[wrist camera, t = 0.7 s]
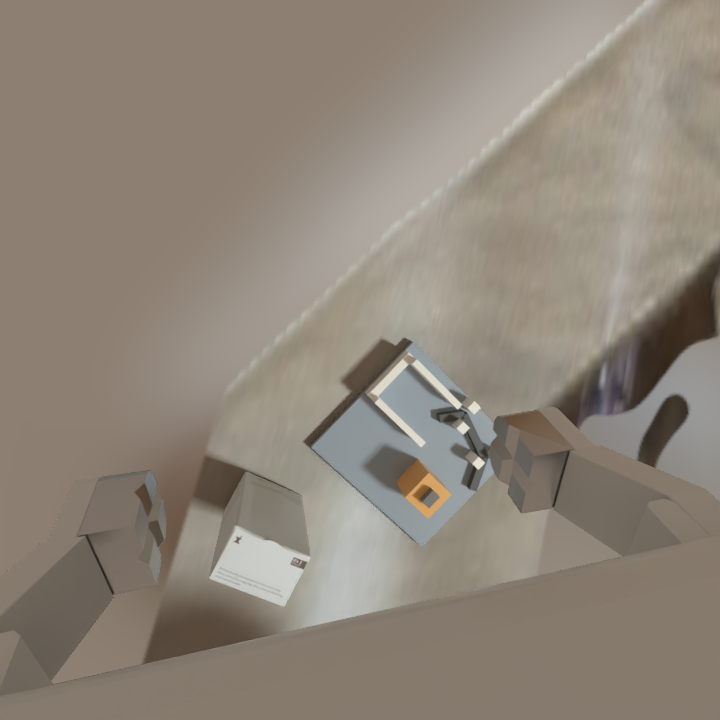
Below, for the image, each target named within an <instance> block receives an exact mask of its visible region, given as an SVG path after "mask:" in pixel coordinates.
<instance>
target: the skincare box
mask: <svg viewBox="0 0 720 720" xmlns="http://www.w3.org/2000/svg"><path fill="white" fill-rule="evenodd" d="M310 558H311V555H310V548H309V542H308V535H307V527H306V520H305V513H304V506H303V499H302V496H301V495H299V494H297V493H295V492H292V491H290V490H288V489H286V488H284V487H281V486H279V485H277V484H275V483H272V482H270V481H268V480H266V479H263V478H261V477H258V476H255V475H253V474H251V473H249V472H247V471H246V472H245V473H244V475H243V476H242V478H241V480H240V482H239V484H238V486H237V488H236V489H235V491H234V493H233V495H232V497H231V499H230V501H229V503H228V504H227V506H226V508H225V510H224V514H223V518H222V522H221V527H220V531H219V536H218V540H217V544H216V548H215V553H214V557H213V562H212V566H211V571H210V576H209V579H211V580H214V581H216V582H219V583H222V584H224V585H227V586H230V587H232V588H235V589H238V590H240V591H243V592H245V593H248V594H251V595H253V596H256V597H259V598H261V599H264V600H267V601H269V602H272V603H275V604H277V605H280V606H283V607H284V606H285V604H286V602H287V601H288V599H289V597H290V595H291V593H292V591H293V589H294V587H295V585H296V583H297V581H298V580H299V578H300V576H301V574H302V572H303V571H304V569H305V567H306V565H307V563H308V562H309V560H310Z"/></svg>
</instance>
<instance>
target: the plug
mask: <svg viewBox="0 0 720 720" xmlns="http://www.w3.org/2000/svg"><path fill="white" fill-rule="evenodd" d="M396 482H397V484H398V486H399V488H400V490H401V491H402V493H403V495H404V497H405V498H406V499H407V500H408V501H409V502H410V503H411V504H412V505H414V506H415V507H416V508H417V509H418V510H419V511H420V512H421V513H422V514H423V515H425V516H426V517H427V518H428V519H429V518H430V517H431V516H432V515H433V514H434V512H435V511H436V510H437V509H438V508H439V507H440V506H441V505H442V504H443V503H444V502H445V501H446V500H447V499H448V498H449V497H450V496H451V495H452V494H451V493H450V492H449V490H448V489H447V488H446V487H445V485H444V484H443V483H442V482H441V480H440V479H439V478H438V477H437V476H436V475H435V474H434V473H433V472H432V471H430V470H429V469H428V468H427V467H426V466H425V465H424V464H423V463H422V462H421V461H420V460H419V459H417V460H416V461H415V462H414V463H413V464H412V465H411V466H410V467H409V468H408V469H407V470H406V471H405V472H404V473H403V474H402V475H401V476H400V477H399V478H398V479H397V480H396Z"/></svg>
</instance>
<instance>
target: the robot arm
mask: <svg viewBox="0 0 720 720" xmlns="http://www.w3.org/2000/svg"><path fill="white" fill-rule="evenodd" d="M493 430H494V432H495V433H496V435H497V436H496V438H495V439H494V440H493V441H492V442H491V443H490V452H489V455H490V462H491V466H492V468H493V471H494V473H495V474H496V476H497V478H498V479H499V480H500V481H502V482H504V483H506V484H507V485H509V488H508V494H509V496H510V497H511V499H512V500H513V502H514V503H515V505H516V506H517V508H518V509H519V511H520V512H521V514H522V513H528V512H534V511H540V510H546V509H551V508H554V510H555V511H556V512H558V513H559V514H561V515H562V516H564V517H565V518H567V519H568V520H570V521H571V522H573V523H574V524H576V525H577V526H578V527H580V528H581V529H583V530H584V531H586V532H587V533H589V534H590V535H592V536H594V537H595V538H596V539H598V540H599V541H601V542H602V543H604V544H605V545H607V546H608V547H610V548H611V549H613V550H614V551H616V552H617V553H619V554H620V555H622V557H618V558H614V559H609V560H605V561H601V562H596V563H591V564H587V565H583V566H579V567H574V568H569V569H565V570H560V571H556V572H551V573H547V574H542V575H538V576H533V577H529V578H525V579H520V580H516V581H511V582H507V583H502V584H498V585H493V586H489V587H484V588H480V589H476V590H471V591H467V592H462V593H458V594H453V595H449V596H444V597H440V598H436V599H431V600H427V601H422V602H418V603H413V604H409V605H404V606H400V607H396V608H391V609H387V610H382V611H378V612H373V613H369V614H364V615H360V616H356V617H351V618H347V619H342V620H338V621H333V622H329V623H324V624H320V625H316V626H311V627H307V628H302V629H298V630H293V631H289V632H284V633H280V634H275V635H271V636H266V637H262V638H257V639H253V640H249V641H244V642H240V643H235V644H231V645H226V646H222V647H217V648H213V649H208V650H204V651H199V652H195V653H191V654H186V655H182V656H177V657H173V658H168V659H164V660H159V661H155V662H151V663H146V664H142V665H138V666H133V667H129V668H124V669H120V670H116V671H111V672H106V673H102V674H97V675H93V676H88V677H84V678H80V679H75V680H71V681H67V682H62V683H57V684H52V682H51V680H52V679H53V677H54V676H55V675H56V673H57V672H58V671H59V669H60V668H61V667H62V665H63V664H64V663H65V662H66V660H67V659H68V658H69V656H70V655H71V654H72V652H73V651H74V649H75V648H76V647H77V645H78V644H79V643H80V642H81V640H82V639H83V638H84V636H85V635H86V634H87V632H88V631H89V630H90V628H91V627H92V626H93V624H94V623H95V622H96V620H97V619H98V618H99V616H100V615H101V614H102V612H103V611H104V610H105V608H106V607H107V606H108V604H109V603H110V602H111V601H112V599H113V598H114V597H113V595H116V594H121V593H125V592H130V591H134V590H139V589H143V588H147V587H152V586H156V585H157V581H158V575H159V570H160V564H161V555H160V552H159V549H158V547H159V546H160V545H161V544H162V542H163V541H164V540H165V533H166V513H165V507H164V503H163V500H162V498H161V497H160V496H158V495H156V494H155V491H156V487H157V482H156V479H155V476H154V474H153V472H152V471H150V470H148V471H142V472H133V473H127V474H119V475H111V476H104V477H101V478H92V479H84V480H77V481H76V482H75V483H74V484H73V485H72V486H71V487H70V490H69V492H68V495H67V497H66V499H65V502H64V504H63V506H62V509H61V511H60V513H59V516H58V518H57V520H56V523H55V525H54V527H53V530H52V532H51V534H50V537H49V539H48V541H47V542H46V543H41V544H38V545H37V546H36V547H35V548H34V549H32V550H31V551H30V552H29V553H28V554H27V555H26V556H25V557H23V558H22V559H21V560H20V561H18V562H17V563H16V564H15V565H14V566H12V567H11V568H10V569H9V570H8V571H7V572H5V573H4V574H3V575H2V576H1V577H0V720H720V502H719V501H718V500H717V499H716V498H715V497H714V496H713V495H712V494H710V493H709V492H708V491H707V490H706V489H704V488H701V487H699V486H696V485H694V484H692V483H689V482H687V481H684V480H682V479H680V478H677V477H675V476H673V475H670V474H668V473H665V472H663V471H661V470H658V469H656V468H653V467H651V466H649V465H646V464H644V463H641V462H639V461H637V460H634V459H632V458H629V457H627V456H624V455H622V454H620V453H617V452H615V451H613V450H610V449H608V448H605V447H603V446H594V445H593V444H592V443H591V442H590V441H589V440H588V439H587V438H586V437H585V436H584V435H583V434H582V433H581V432H580V431H579V430H578V429H577V428H576V427H575V426H574V425H573V424H572V423H571V422H570V421H569V420H568V419H567V418H566V417H565V416H564V415H563V414H562V413H561V412H560V411H559V410H558V409H557V408H554V407H548V408H543V409H537V410H534V411H527V412H521V413H515V414H509V415H503V416H497V418H496V419H495V421H494V426H493Z"/></svg>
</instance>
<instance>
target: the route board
mask: <svg viewBox="0 0 720 720" xmlns="http://www.w3.org/2000/svg"><path fill="white" fill-rule="evenodd" d="M480 408H481V407H480V406H479V405H478V404H477V403H476V402H475V401H473V400H472V399H470V398H468V397H467V396H466V395H465V394H464V393H463V392H462V391H461V390H460V389H459V388H458V387H457V386H456V385H455V384H454V383H453V382H452V381H451V380H450V379H449V378H448V377H447V376H446V375H445V374H444V372H443V371H442V370H441V369H440V368H439V367H438V366H437V365H436V364H435V363H434V362H433V361H432V360H431V359H430V358H429V357H428V356H427V355H426V354H425V353H424V352H423V351H422V350H421V349H420V348H419V347H418V346H417V345H416V344H415V343H414V342H412V341H411V342H410V343H409V344H408V345H407V346H406V347H405V348H404V349H403V350H402V351H401V352H400V354H399V355H398V356H397V357H396V358H395V359H394V360H393V361H392V362H391V363H390V364H389V365H388V366H387V367H386V368H385V369H384V370H383V371H382V372H381V373H380V374H379V375H378V376H377V377H376V378H375V379H374V380H373V381H372V382H371V383H370V384H369V386H368V387H367V388H366V389H365V390H364V391H363V392H362V393H361V394H360V395H359V396H358V397H357V398H356V399H355V400H354V401H353V402H352V403H351V404H350V405H349V406H348V407H347V408H346V409H345V410H344V411H343V412H342V413H341V414H340V415H339V416H338V418H337V419H336V420H335V421H334V422H333V423H332V424H331V425H330V426H329V427H328V428H327V429H326V430H325V431H324V432H323V433H322V434H321V435H320V436H319V437H318V438H317V439H316V440H315V441H314V442H313V443H312V444H311V448H312V449H313V450H314V451H315V452H317V453H318V454H319V455H320V456H321V457H322V458H323V459H324V460H325V461H327V462H328V463H329V464H330V465H331V466H332V467H333V468H334V469H336V470H337V471H338V472H339V473H340V474H341V475H342V476H343V477H344V478H346V479H347V480H348V481H349V482H350V483H351V484H352V485H353V486H355V487H356V488H357V489H358V490H359V491H360V492H361V493H362V494H363V495H365V496H366V497H367V498H368V499H369V500H370V501H371V502H372V503H374V504H375V505H376V506H377V507H378V508H379V509H380V510H381V511H382V512H384V513H385V514H386V515H387V516H388V517H389V518H390V519H391V520H393V521H394V522H395V523H396V524H397V525H398V526H399V527H400V528H401V529H403V530H404V531H405V532H406V533H407V534H408V535H409V536H410V537H412V538H413V539H414V540H415V541H416V542H417V543H418V544H419V545H420V546H422V547H423V546H424V545H425V543H426V542H427V541H428V540H429V539H430V538H431V537H432V536H433V535H434V534H435V533H436V532H437V531H438V530H439V529H440V528H441V527H442V526H443V525H444V524H445V523H446V522H447V521H448V520H449V519H450V518H451V517H452V516H453V515H454V513H455V512H456V511H457V510H458V509H459V508H460V507H461V506H462V505H463V504H464V503H465V502H466V501H467V500H468V499H469V498H470V497H471V496H472V495H473V494H474V493H475V492H477V490H478V489H479V488H480V487H481V486H482V485H483V483H484V482H485V481H486V480H487V479H488V478H489V477H490V476H491V475H492V474H493V473H494V471H493V468H492V466H491V462H490V455H489V452H490V443H491V442H492V441H493V440H494V439H495V438H496V436H497V435H496V433H495V432H494V430H493V426H494V423H493V422H492V421H491V420H490V419H489V418H488V417H487V416H486V415H485V414H484V413H483V412H482V411H481V410H480ZM417 459H419V460H420V461H421V462H422V463H423V464H424V465H425V466H426V467H427V468H428V469H429V470H430V471H432V472H433V473H434V474H435V475H436V476H437V477H438V478H439V479H440V480H441V482H442V483H443V484H444V485H445V487H446V488H447V489H448V490H449V492H450V493H451V494H452V495H451V496H450V497H449V498H448V499H447V500H446V501H445V502H444V503H443V504H442V505H441V506H440V507H439V508H438V509H437V510H436V511H435V512H434V514H433V515H432V516H431V517H430V518H429V519H428V518H427V517H426V516H425V515H423V514H422V513H421V512H420V511H419V510H418V509H417V508H416V507H415V506H414V505H412V504H411V503H410V502H409V501H408V500H407V499H406V498H405V497H404V495H403V493H402V491H401V490H400V488H399V486H398V484H397V482H396V480H397V479H398V478H399V477H400V476H401V475H402V474H403V473H404V472H405V471H406V470H407V469H408V468H409V467H410V466H411V465H412V464H413V463H414V462H415V461H416V460H417Z"/></svg>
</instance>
